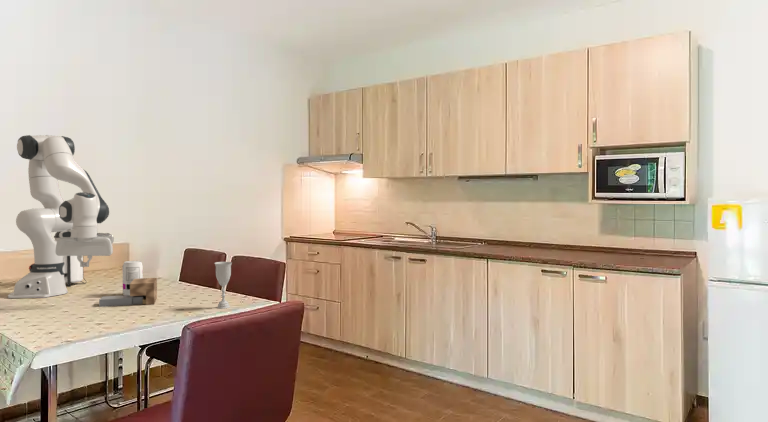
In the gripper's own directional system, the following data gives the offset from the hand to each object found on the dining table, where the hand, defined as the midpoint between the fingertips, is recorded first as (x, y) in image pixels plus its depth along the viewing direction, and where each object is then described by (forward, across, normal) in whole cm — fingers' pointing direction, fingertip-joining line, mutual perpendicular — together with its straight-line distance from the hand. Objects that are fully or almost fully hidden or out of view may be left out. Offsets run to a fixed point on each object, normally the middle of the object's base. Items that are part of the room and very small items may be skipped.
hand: (84, 266), depth 214 cm
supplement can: (+16, -16, -19) cm, 30 cm away
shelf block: (+15, -23, 0) cm, 28 cm away
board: (+16, -14, +1) cm, 21 cm away
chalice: (+14, -54, +21) cm, 59 cm away
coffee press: (+19, +18, -57) cm, 63 cm away
